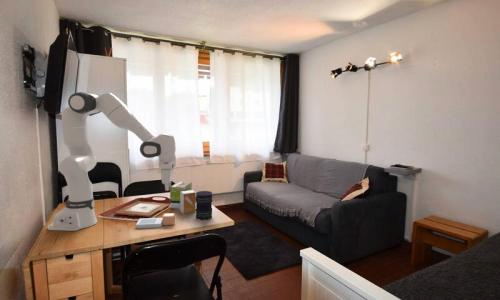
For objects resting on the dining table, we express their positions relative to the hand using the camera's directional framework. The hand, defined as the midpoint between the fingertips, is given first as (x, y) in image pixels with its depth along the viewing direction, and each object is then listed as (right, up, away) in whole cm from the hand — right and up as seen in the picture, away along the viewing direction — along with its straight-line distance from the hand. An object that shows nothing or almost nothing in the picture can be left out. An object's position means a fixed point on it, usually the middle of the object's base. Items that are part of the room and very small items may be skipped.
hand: (168, 188), depth 149 cm
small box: (+6, -18, +22) cm, 30 cm away
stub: (0, -20, +2) cm, 20 cm away
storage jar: (+17, -20, +13) cm, 29 cm away
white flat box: (-10, -20, 0) cm, 23 cm away
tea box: (-2, -17, +35) cm, 39 cm away
